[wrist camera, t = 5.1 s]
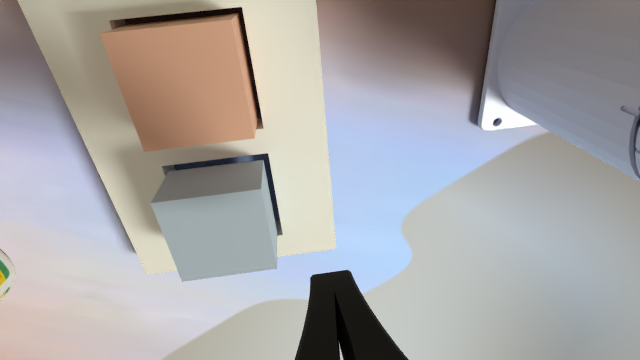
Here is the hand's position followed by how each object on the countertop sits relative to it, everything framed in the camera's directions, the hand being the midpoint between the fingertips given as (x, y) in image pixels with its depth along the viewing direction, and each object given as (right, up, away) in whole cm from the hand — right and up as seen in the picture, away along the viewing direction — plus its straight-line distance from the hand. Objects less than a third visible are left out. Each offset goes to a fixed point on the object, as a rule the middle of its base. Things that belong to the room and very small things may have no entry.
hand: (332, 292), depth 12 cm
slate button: (-6, +3, +7) cm, 10 cm away
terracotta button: (-6, +9, +5) cm, 12 cm away
